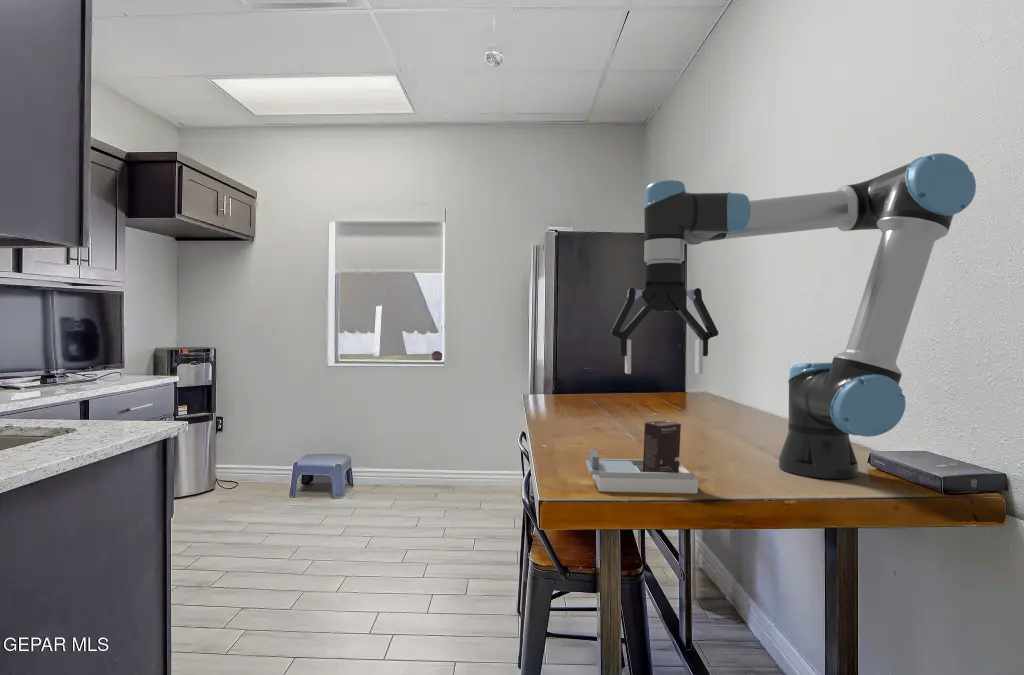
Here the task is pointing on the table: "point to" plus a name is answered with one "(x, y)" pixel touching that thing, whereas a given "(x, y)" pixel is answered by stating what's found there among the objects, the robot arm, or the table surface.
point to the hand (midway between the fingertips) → (663, 373)
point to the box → (661, 447)
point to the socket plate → (646, 480)
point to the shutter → (607, 464)
